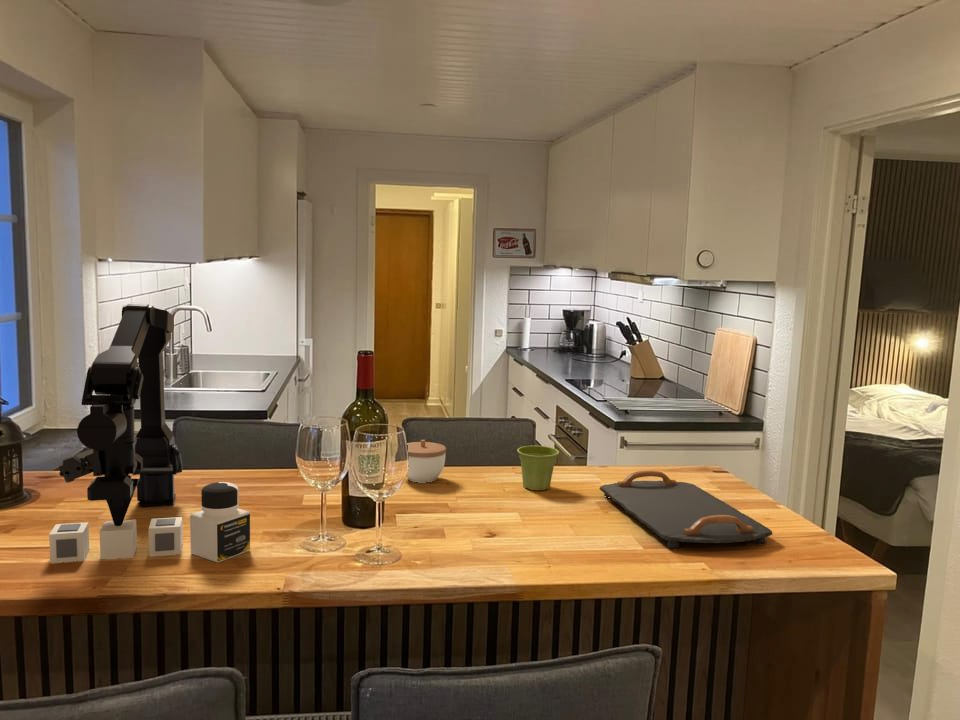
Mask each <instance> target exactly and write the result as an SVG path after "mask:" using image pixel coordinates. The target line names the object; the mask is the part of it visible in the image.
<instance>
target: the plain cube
mask: <svg viewBox="0 0 960 720" xmlns="http://www.w3.org/2000/svg"><path fill="white" fill-rule="evenodd" d="M137 544H138V541H137V519H124V521H123V523H122V525H121V526H115V525H114V522H113V520H109V521H104V522H103V524H102V526H101V528H100V530H99V550H100V551H99V555H100V557H99V558H100V560H101V559H107V560H117V558H121V559H131V558H132V559H134V557H133V556H135V553H136V550H137V547H138V545H137ZM114 558H115V559H114Z"/></svg>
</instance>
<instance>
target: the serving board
mask: <svg viewBox="0 0 960 720" xmlns="http://www.w3.org/2000/svg"><path fill="white" fill-rule="evenodd" d="M647 477H655V478H661V479H662V480H636V479H639V478H647ZM599 490H600V491H601V492H602V493H603V495H604V496H606V497H610V498H611V500H612V501H613V502H614V503H616V504H617V505H619V506H620V507H622V508H623V510H625V511H626V512H627V513H629V514H630V515H631V516H633V517H634V518H635V519H636V520H638V522H640V523H641V524H643V525H645V526H647V528H648V529H649V530H651V531H652V532H653V533H655V534H656V535H657V536H658V537H659V538H661V539H663V540H665V541H667V548H668V549H670V550H673V549H676V550H678V549H680V543H679V542H681V543H695V544H696V543H697V544H729V543H742V542H750V541H754V543H755V544H757V545H761V544H763V545H766V543H767V537H771V536H772V535H773V531H772V530H771V529H770V528H769V527H768V526H765V525H764V524H762V523H761V522H758V521H757V520H755V519H753V518H751V517H750V516H748V514H747V515H746V514H745V513H742V512H741V511H739V510H738V509H736V508H735V507H733V506H731V505H730V504H728V503H726V502H725V501H723V500H721V499H720V498H718V497H716V496H715V495H713V494H712V493H709V492H707V491H706V490H703V489H702V488H700V487H699V486H697V485H696V484H694V483H689V482H683V481H677V480H676V479H670V478H669V476H668V475H666V474H665V473H664V472H662V471H658V470H650V469H649V470H639V471H638V470H637V471H634V472H631V473H630V474H628V475H627V476H626V477H625V479H623V480H622V481H617V482H614V483H609V484H604V485H602V486H601V485H600V486H599Z"/></svg>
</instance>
